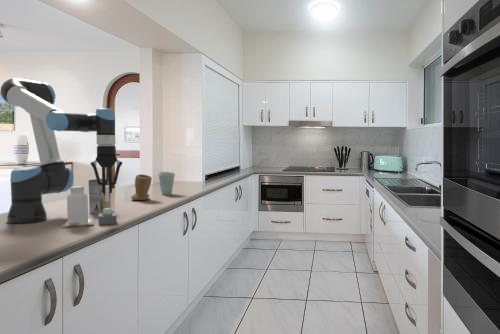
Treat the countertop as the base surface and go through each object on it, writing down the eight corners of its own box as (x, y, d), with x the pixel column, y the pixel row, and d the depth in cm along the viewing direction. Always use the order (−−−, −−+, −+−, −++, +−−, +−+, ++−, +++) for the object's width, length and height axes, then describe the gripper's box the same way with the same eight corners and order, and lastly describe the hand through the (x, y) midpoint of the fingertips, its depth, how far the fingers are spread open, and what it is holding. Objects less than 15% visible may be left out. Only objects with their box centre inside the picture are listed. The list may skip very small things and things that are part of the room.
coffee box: (99, 209, 204) (99, 178, 203) (111, 210, 202) (110, 178, 201) (88, 213, 195) (88, 180, 194) (100, 213, 193) (100, 180, 192)
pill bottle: (66, 224, 164) (65, 187, 163) (69, 220, 172) (68, 185, 171) (87, 223, 166) (86, 187, 166) (89, 219, 174) (88, 185, 173)
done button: (103, 217, 169) (103, 209, 169) (103, 216, 172) (103, 208, 172) (111, 217, 171) (111, 209, 170) (111, 216, 174) (111, 208, 173)
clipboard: (61, 228, 161) (61, 225, 161) (63, 221, 174) (63, 218, 174) (93, 225, 165) (93, 223, 165) (93, 219, 178) (93, 217, 178)
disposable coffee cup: (170, 192, 272) (169, 170, 272) (178, 194, 264) (177, 171, 263) (155, 194, 266) (155, 171, 265) (163, 195, 257) (163, 172, 257)
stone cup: (150, 201, 234) (149, 175, 233) (129, 201, 233) (128, 175, 232) (154, 197, 249) (153, 173, 248) (134, 197, 248) (134, 173, 247)
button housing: (98, 224, 167) (98, 216, 167) (98, 221, 174) (98, 213, 173) (116, 223, 170) (116, 215, 169) (115, 220, 176) (115, 212, 176)
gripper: (89, 145, 164) (90, 203, 165) (122, 145, 168) (124, 201, 170) (89, 145, 171) (91, 200, 172) (121, 145, 175) (122, 199, 177)
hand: (107, 200), depth 171 cm, fingers closed
